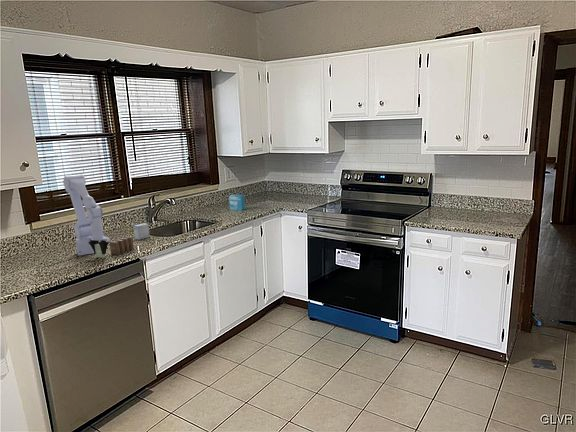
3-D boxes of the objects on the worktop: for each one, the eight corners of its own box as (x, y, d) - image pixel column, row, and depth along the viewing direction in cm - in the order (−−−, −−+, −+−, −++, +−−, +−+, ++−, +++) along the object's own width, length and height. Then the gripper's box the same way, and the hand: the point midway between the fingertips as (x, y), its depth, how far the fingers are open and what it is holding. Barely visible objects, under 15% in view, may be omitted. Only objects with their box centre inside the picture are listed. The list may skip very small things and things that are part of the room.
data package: (229, 209, 354) (228, 195, 351) (232, 208, 358) (231, 194, 355) (242, 210, 348) (241, 195, 346) (245, 209, 352) (244, 194, 350)
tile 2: (127, 251, 246) (126, 239, 245) (120, 250, 248) (119, 238, 247) (129, 250, 248) (128, 238, 246) (122, 249, 250) (121, 237, 248)
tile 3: (122, 252, 243) (121, 240, 241) (115, 252, 245) (114, 240, 243) (124, 252, 244) (123, 240, 243) (118, 251, 246) (116, 239, 245)
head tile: (131, 249, 249) (130, 237, 248) (125, 248, 251) (123, 237, 250) (133, 248, 251) (132, 236, 249) (127, 247, 253) (125, 236, 251)
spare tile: (103, 257, 235) (101, 245, 234) (96, 257, 237) (94, 244, 236) (105, 256, 237) (103, 244, 235) (98, 256, 239) (96, 243, 237)
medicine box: (145, 236, 279) (144, 223, 277) (149, 237, 276) (148, 223, 274) (134, 238, 273) (133, 225, 271) (138, 239, 270) (137, 226, 268)
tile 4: (117, 254, 240) (116, 242, 238) (111, 254, 242) (109, 241, 240) (120, 253, 241) (118, 241, 240) (113, 253, 243) (111, 241, 242)
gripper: (81, 230, 233) (84, 254, 236) (101, 231, 227) (104, 256, 230) (91, 227, 239) (94, 250, 242) (111, 228, 234) (114, 252, 236)
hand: (100, 253), depth 236 cm, fingers closed on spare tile, 5 cm apart
